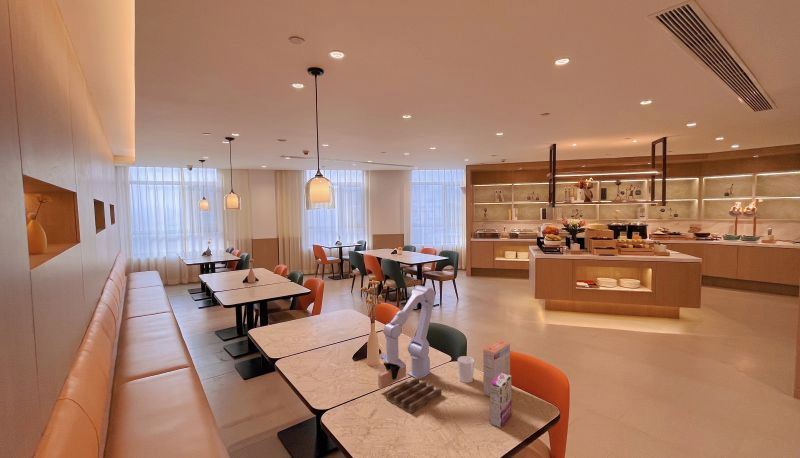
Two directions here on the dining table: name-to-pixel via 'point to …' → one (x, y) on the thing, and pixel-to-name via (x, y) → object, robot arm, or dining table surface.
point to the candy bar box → (500, 400)
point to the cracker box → (495, 363)
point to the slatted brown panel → (413, 395)
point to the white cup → (465, 369)
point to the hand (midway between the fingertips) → (392, 377)
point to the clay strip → (390, 377)
